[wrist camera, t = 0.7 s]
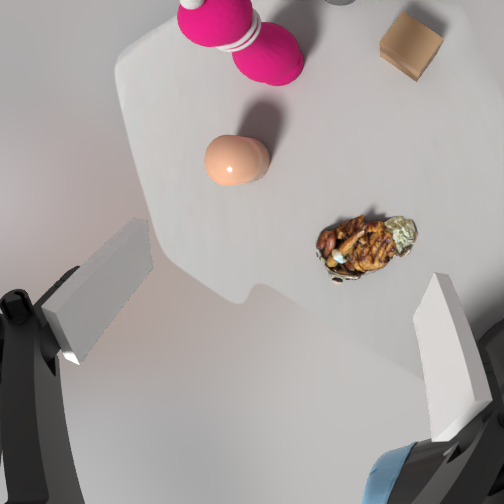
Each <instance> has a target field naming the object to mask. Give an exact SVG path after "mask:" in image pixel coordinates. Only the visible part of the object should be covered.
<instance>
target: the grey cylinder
mask: <svg viewBox="0 0 504 504" xmlns="http://www.w3.org/2000/svg"><path fill="white" fill-rule="evenodd" d="M325 1H327V2H328V3H330V4H333V5H348V4H351V3H353V2H354V1H355V0H325Z"/></svg>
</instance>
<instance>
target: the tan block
mask: <svg viewBox="0 0 504 504" xmlns="http://www.w3.org/2000/svg"><path fill="white" fill-rule="evenodd" d="M442 41H443V38H442V37H441V36H439V35H438V34H436V33H435V32H434V31H432V30H431V29H429V28H428V27H426V26H425V25H423V24H422V23H420V22H419V21H417V20H416V19H414V18H413V17H411V16H409V15H408V14H406V13H405V12H402V13H401V14H400V16H399V17H398V18H397V20H396V21H395V22H394V23H393V25H392V26H391V27H390V29H389V30H388V31H387V33H386V34H385V35H384V36H383V38H382V39H381V40H380V57H382V58H384V59H385V60H387V61H388V62H389V63H391V64H392V65H394V66H395V67H397V68H398V69H400V70H401V71H402V72H404V73H405V74H406V75H408V76H409V77H411V78H412V79H413V80H415V81H416V82H417V80H418V79H419V78H420V76H421V75H422V73H423V72H424V71H425V69H426V68H427V67H428V65H429V64H430V62H431V61H432V60H433V58H434V57H435V55H436V54H437V52H438V50H439V48H440V46H441V44H442Z"/></svg>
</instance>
